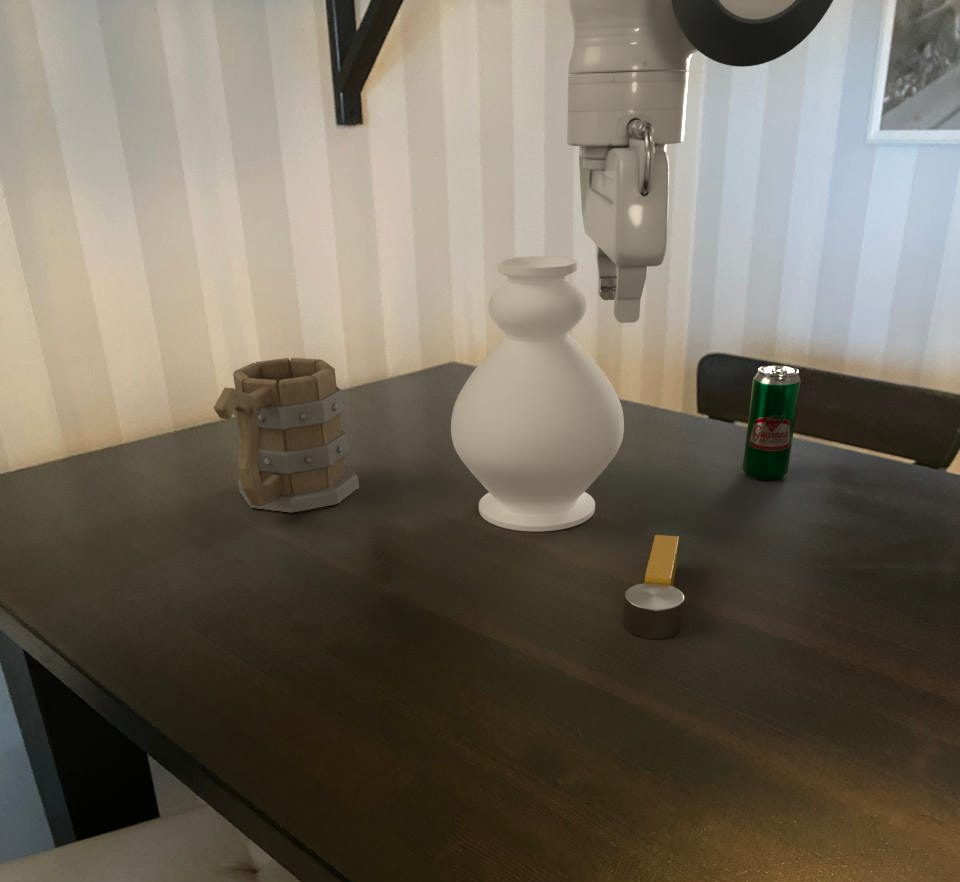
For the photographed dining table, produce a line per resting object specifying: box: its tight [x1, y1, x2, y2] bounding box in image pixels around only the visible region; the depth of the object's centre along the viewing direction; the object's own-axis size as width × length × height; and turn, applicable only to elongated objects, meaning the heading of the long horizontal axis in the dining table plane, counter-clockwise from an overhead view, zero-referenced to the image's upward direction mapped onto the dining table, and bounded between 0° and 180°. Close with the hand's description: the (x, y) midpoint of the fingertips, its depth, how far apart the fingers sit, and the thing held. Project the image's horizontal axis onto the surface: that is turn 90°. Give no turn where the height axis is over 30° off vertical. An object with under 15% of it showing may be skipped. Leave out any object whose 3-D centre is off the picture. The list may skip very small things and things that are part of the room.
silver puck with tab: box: [623, 534, 685, 640], centre depth 81 cm, size 14×5×3 cm, turn 165°
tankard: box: [213, 357, 360, 513], centre depth 100 cm, size 20×13×15 cm, turn 161°
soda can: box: [742, 364, 802, 482], centre depth 105 cm, size 5×5×12 cm
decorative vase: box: [450, 255, 625, 533], centre depth 94 cm, size 18×18×25 cm
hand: (617, 309), depth 77 cm, fingers open, 8 cm apart
